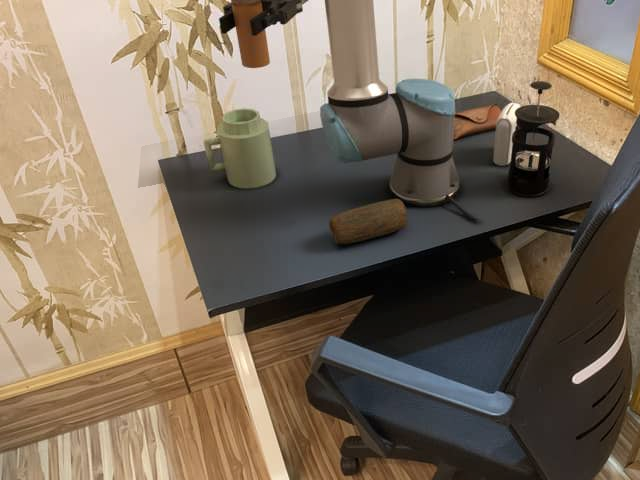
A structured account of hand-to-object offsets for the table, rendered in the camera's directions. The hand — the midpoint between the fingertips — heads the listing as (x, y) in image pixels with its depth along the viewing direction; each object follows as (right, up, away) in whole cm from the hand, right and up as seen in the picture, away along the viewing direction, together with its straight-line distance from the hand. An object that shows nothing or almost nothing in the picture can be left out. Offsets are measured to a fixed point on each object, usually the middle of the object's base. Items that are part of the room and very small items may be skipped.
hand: (237, 27), depth 117 cm
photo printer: (+56, -17, +31) cm, 66 cm away
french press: (+59, -26, +21) cm, 67 cm away
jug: (-5, -23, +25) cm, 35 cm away
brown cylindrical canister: (+1, -3, +9) cm, 10 cm away
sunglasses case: (+50, -7, +44) cm, 67 cm away
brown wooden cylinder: (+24, -39, +7) cm, 46 cm away
